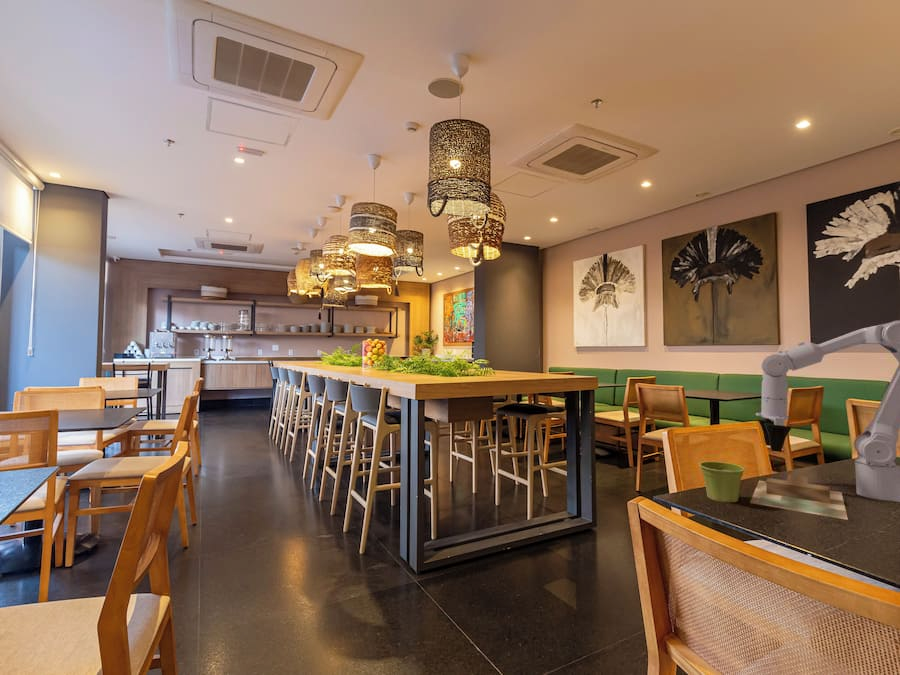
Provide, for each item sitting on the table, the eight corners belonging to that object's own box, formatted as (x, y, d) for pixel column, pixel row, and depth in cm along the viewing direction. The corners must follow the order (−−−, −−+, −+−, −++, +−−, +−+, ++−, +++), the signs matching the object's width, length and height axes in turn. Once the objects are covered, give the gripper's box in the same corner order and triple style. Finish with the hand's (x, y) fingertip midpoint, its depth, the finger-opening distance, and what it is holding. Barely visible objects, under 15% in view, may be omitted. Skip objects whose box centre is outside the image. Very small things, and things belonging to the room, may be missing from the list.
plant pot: (753, 510, 100) (752, 471, 100) (708, 507, 102) (707, 469, 102) (735, 497, 109) (734, 462, 110) (694, 495, 111) (693, 460, 112)
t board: (841, 496, 110) (841, 492, 110) (848, 524, 91) (847, 519, 91) (759, 484, 121) (759, 480, 121) (750, 507, 102) (749, 502, 102)
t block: (828, 491, 111) (828, 479, 111) (830, 503, 101) (829, 490, 102) (770, 482, 118) (769, 471, 118) (766, 493, 109) (766, 481, 109)
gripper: (752, 395, 128) (751, 441, 127) (761, 399, 115) (760, 451, 114) (782, 397, 125) (781, 444, 124) (794, 402, 112) (793, 455, 111)
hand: (773, 448), depth 119 cm, fingers open, 7 cm apart
